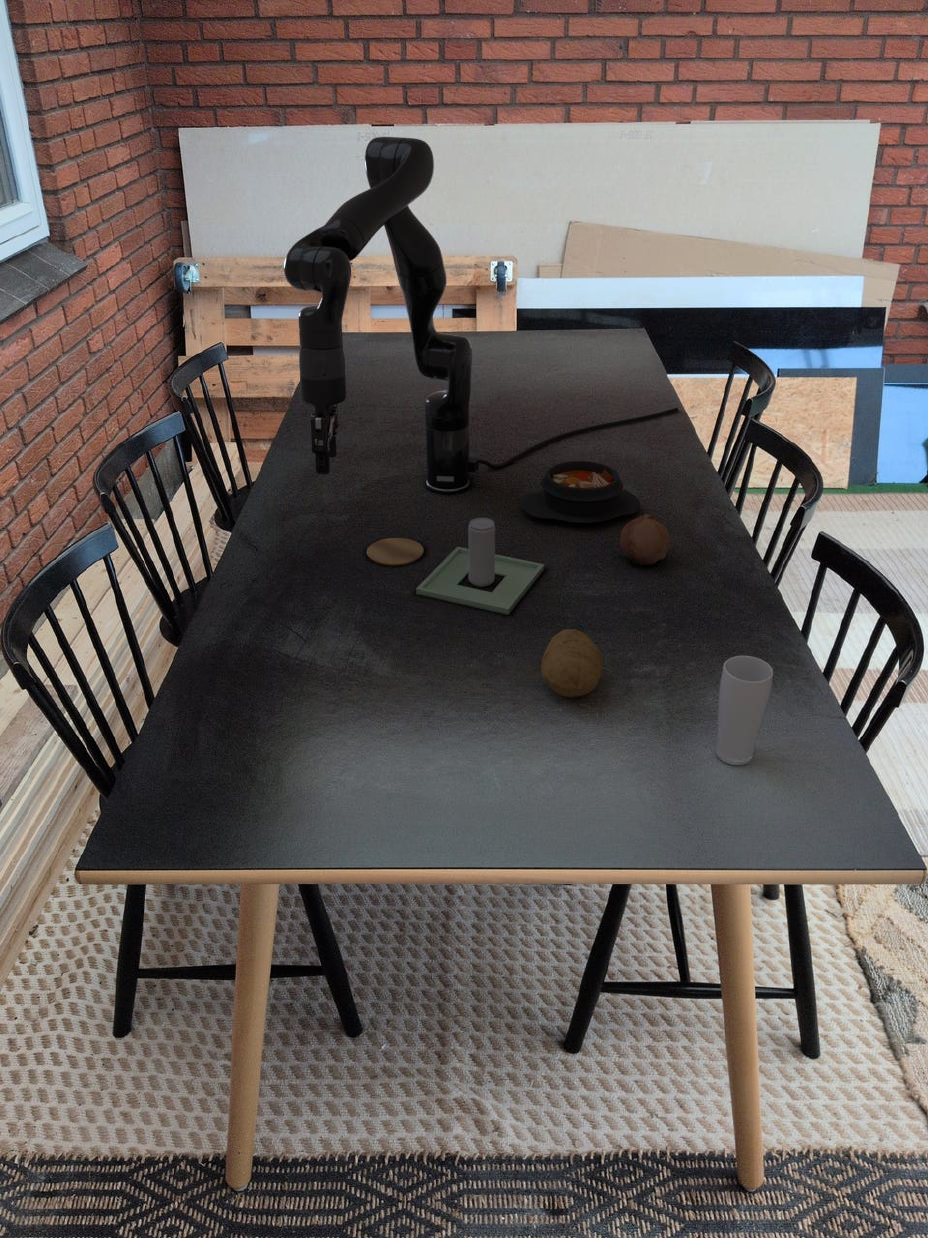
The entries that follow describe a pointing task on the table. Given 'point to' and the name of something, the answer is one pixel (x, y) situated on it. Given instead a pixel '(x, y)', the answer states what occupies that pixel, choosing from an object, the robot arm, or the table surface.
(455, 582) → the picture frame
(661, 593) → the table surface
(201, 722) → the table surface
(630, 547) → the onion
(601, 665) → the potato
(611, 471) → the casserole
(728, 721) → the drinking glass
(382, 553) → the coaster
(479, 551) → the beverage can
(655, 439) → the table surface
